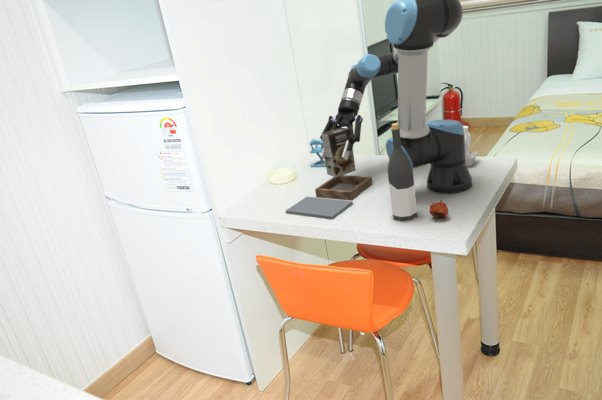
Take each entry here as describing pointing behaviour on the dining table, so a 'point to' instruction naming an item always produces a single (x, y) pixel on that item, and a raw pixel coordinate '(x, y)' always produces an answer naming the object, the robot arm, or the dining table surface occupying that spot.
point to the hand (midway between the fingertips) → (333, 158)
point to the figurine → (468, 155)
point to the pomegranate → (438, 210)
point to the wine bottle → (401, 181)
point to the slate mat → (319, 207)
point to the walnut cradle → (327, 191)
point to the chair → (317, 151)
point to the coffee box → (337, 152)
